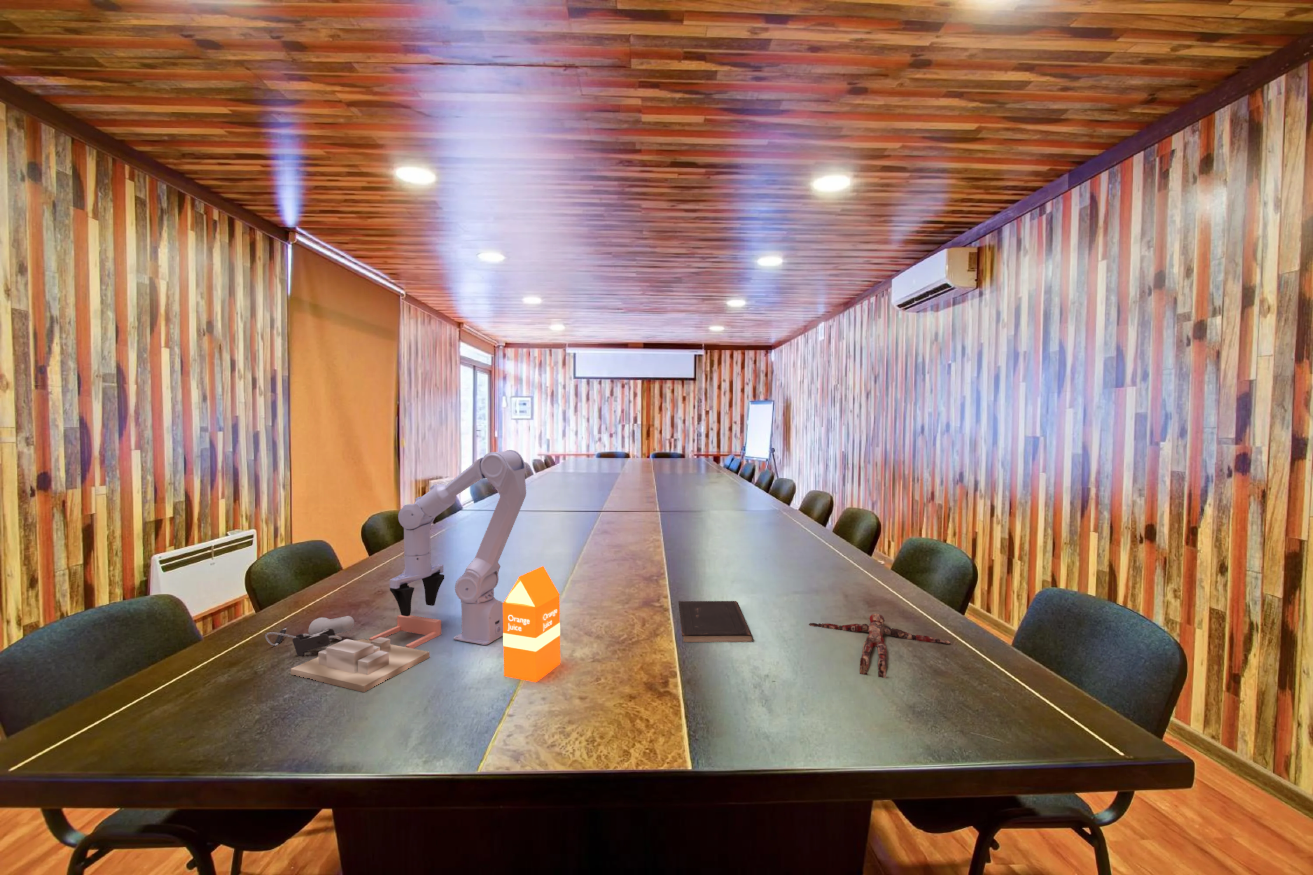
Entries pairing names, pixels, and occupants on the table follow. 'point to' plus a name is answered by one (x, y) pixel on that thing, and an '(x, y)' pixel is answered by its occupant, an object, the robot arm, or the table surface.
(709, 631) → the hardcover book
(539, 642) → the orange juice
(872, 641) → the mannequin
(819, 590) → the table surface
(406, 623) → the u-shaped bracket
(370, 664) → the architectural building model
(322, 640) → the clip-on lamp
